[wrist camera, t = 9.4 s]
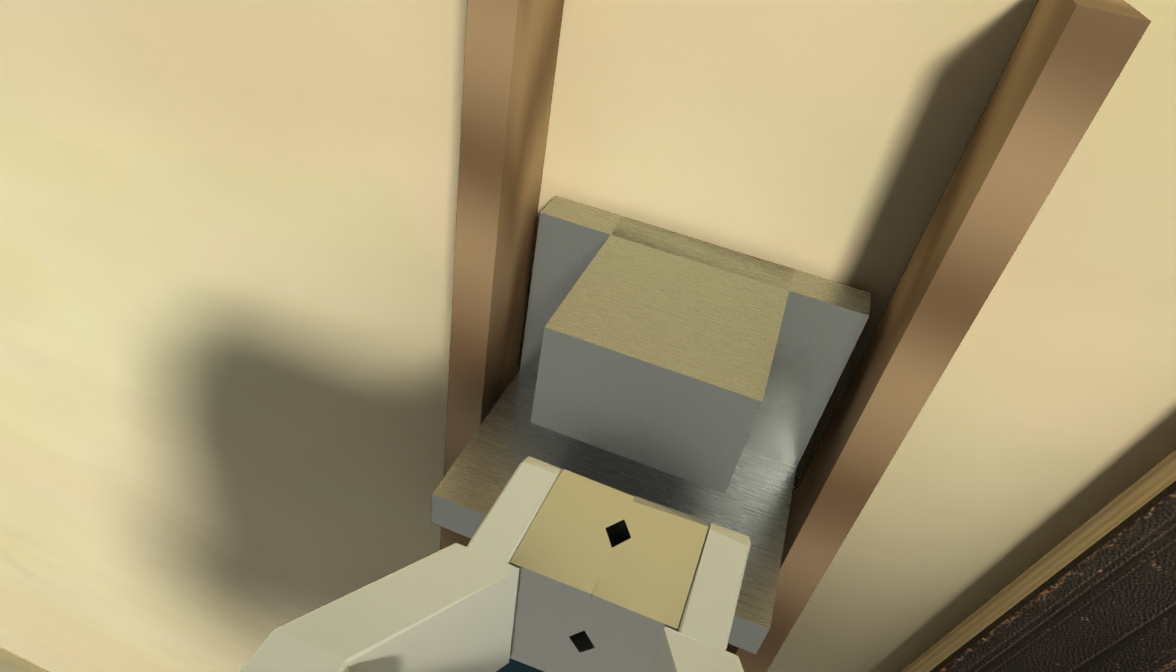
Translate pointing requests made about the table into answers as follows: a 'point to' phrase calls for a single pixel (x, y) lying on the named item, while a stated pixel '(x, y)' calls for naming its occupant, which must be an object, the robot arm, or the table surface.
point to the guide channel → (914, 314)
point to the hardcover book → (1084, 597)
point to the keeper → (666, 383)
